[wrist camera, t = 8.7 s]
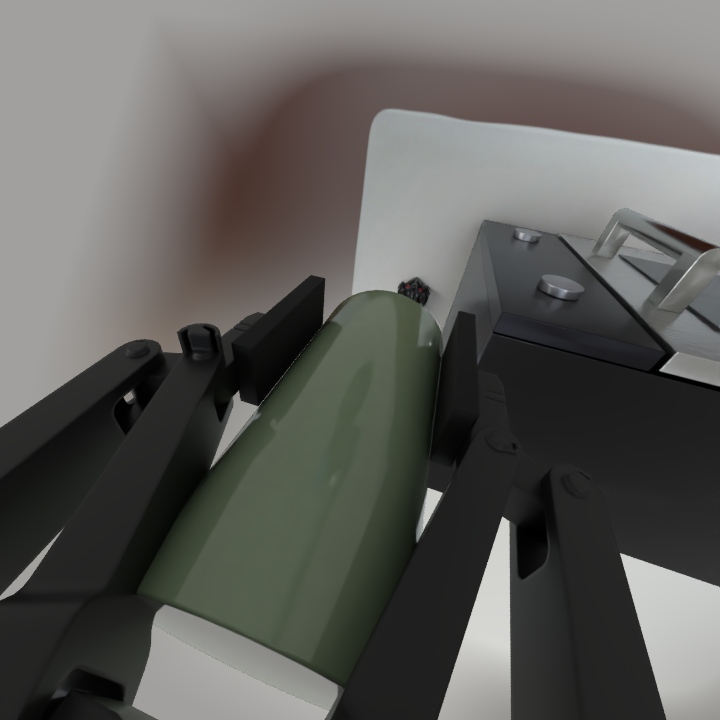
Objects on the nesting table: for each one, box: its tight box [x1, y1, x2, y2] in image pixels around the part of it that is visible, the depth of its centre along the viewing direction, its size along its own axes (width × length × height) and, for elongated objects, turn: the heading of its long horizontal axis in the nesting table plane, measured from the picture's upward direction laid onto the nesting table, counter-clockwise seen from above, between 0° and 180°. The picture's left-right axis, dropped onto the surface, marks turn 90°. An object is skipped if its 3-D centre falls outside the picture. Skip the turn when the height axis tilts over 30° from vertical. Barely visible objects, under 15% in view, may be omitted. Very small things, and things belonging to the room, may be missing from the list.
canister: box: [137, 290, 443, 711], centre depth 12 cm, size 7×7×14 cm
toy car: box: [398, 278, 430, 307], centre depth 53 cm, size 6×12×4 cm, turn 174°
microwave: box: [427, 220, 720, 587], centre depth 35 cm, size 22×40×31 cm, turn 82°
